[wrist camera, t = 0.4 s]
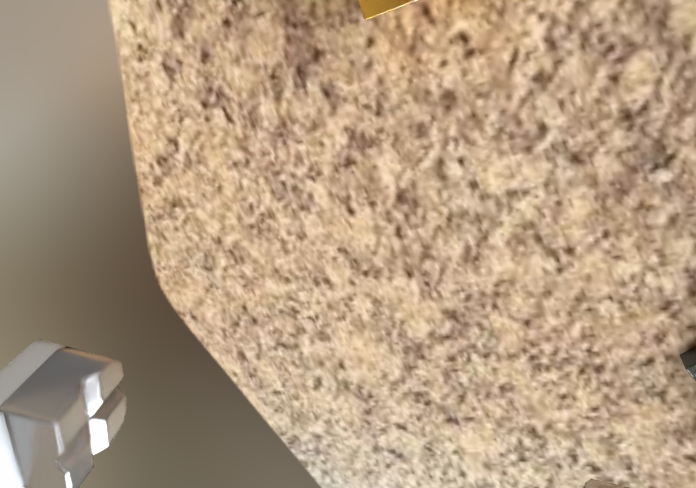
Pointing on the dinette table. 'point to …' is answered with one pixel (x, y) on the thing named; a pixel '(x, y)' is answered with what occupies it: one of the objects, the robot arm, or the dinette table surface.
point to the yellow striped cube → (380, 6)
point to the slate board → (690, 362)
